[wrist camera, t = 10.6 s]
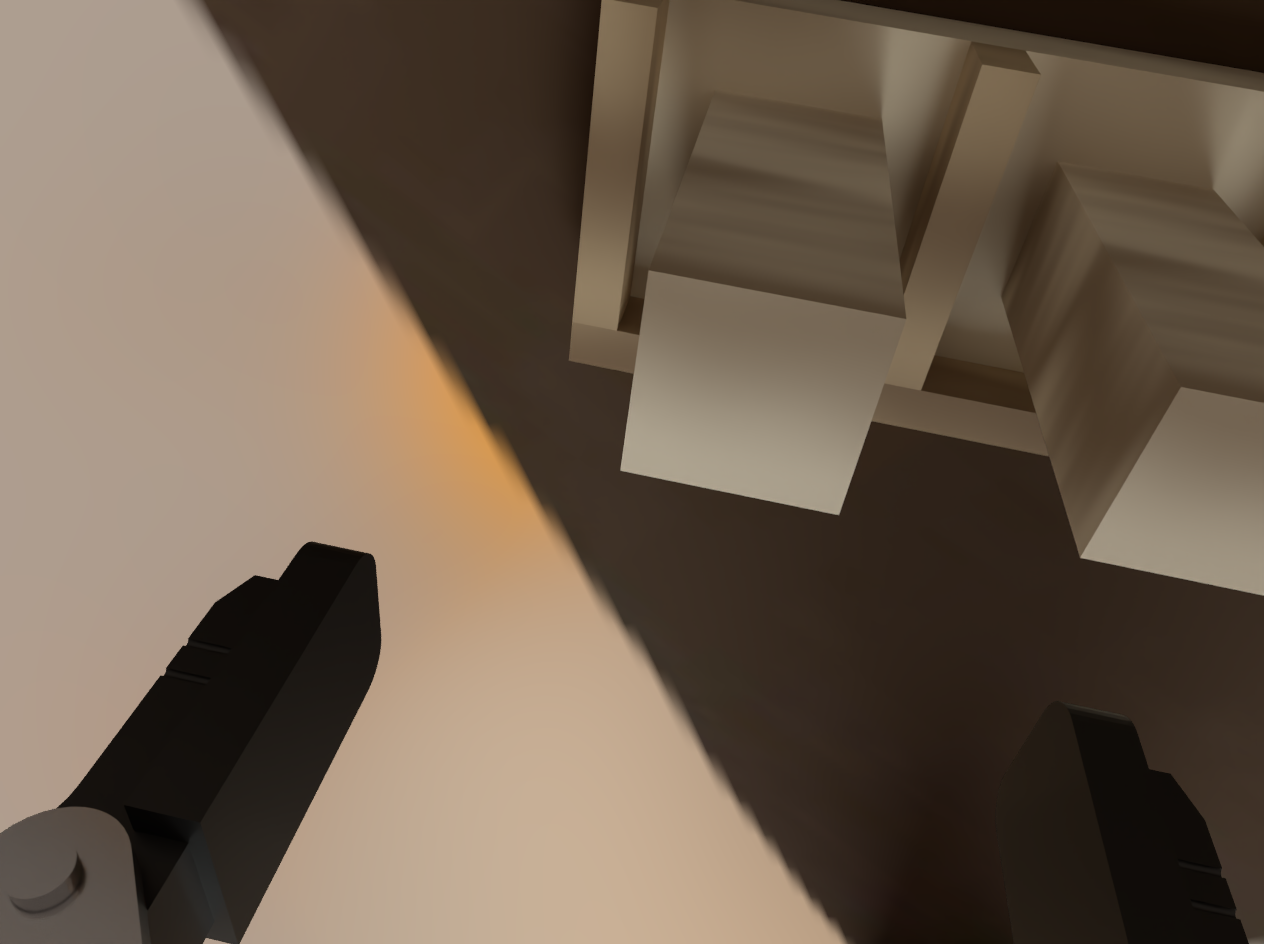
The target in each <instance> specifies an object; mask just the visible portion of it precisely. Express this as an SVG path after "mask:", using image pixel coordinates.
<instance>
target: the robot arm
mask: <svg viewBox="0 0 1264 944" xmlns="http://www.w3.org/2000/svg"><path fill="white" fill-rule="evenodd" d="M380 649H381V628H380V614H379V602H378V588H377V576H376V564H375V560H374V557H373V556H372V555H371V554H369V553H364V552H359V551H354V550H349V549H345V548H340V547H335V546H331V545H326V544H321V543H316V542H308V543H306V544H305V545H304V546H303V547H302V548H301V549H300V550H299V551H298V553H297V554H296V555H295V557H294V558H293V560H292V561H291V563H290V564H289V566H288V567H287V568H286V570H285V571H284V573H283V574H282V576H281V577H280V579H279V580H275V579H270V578H265V577H261V576H256V575H255V576H253V577H252V578H250V579H249V580H247V581H246V582H244V583H243V584H242V585H240V586H239V587H237V588H236V589H234V590H233V591H231V592H230V593H228V594H227V595H226V596H224V597H223V598H221V599H220V600H218V601H217V602H215V603H214V605H213V606H212V607H211V609H210V610H209V612H208V613H207V614H206V615H205V617H204V618H203V619H202V621H201V622H200V623H199V625H198V626H197V628H196V629H195V630H194V631H193V633H192V634H191V636H190V637H189V638H188V643H187V645H186V646H182V648H181V649H180V650H179V652H178V653H177V654H176V656H175V657H174V658H173V660H172V661H171V662H170V664H169V665H168V666H167V668H166V673H165V675H164V676H160V677H159V678H158V680H157V681H156V682H155V684H154V685H153V686H152V688H151V689H150V690H149V692H148V693H147V694H146V696H145V697H144V698H143V700H142V701H141V702H140V704H139V705H138V707H137V708H136V709H135V710H134V712H133V713H132V715H131V716H130V717H129V719H128V720H127V721H126V722H125V724H124V725H123V726H122V728H121V729H120V731H119V732H118V733H117V735H116V736H115V737H114V738H113V740H112V741H111V743H110V744H109V745H108V747H107V748H106V749H105V751H104V752H103V753H102V755H101V756H100V757H99V759H98V760H97V761H96V763H95V764H94V766H93V767H92V768H91V769H90V771H89V772H88V773H87V775H86V776H85V777H84V779H83V780H82V781H81V783H80V784H79V785H78V786H77V788H76V789H75V790H74V791H73V792H72V794H71V795H70V796H69V797H68V798H67V799H66V800H65V801H64V802H63V803H62V804H61V805H59V807H57V808H56V809H52V810H48V811H44V812H41V813H38V814H36V815H33V816H30V817H28V818H26V819H24V820H22V821H20V822H18V823H16V824H14V825H12V826H11V827H9V828H8V829H6V830H4V831H3V832H2V833H0V944H203V942H204V940H205V938H209V939H214V940H218V941H222V942H226V943H230V944H240V942H241V940H242V938H243V936H244V934H245V932H246V930H247V928H248V926H249V924H250V922H251V920H252V918H253V916H254V914H255V912H256V910H257V908H258V906H259V904H260V902H261V900H262V898H263V896H264V894H265V892H266V890H267V888H268V887H269V884H270V883H271V881H272V878H273V877H274V875H275V873H276V871H277V869H278V867H279V865H280V863H281V861H282V859H283V857H284V855H285V853H286V851H287V849H288V847H289V845H290V843H291V841H292V839H293V837H294V835H295V833H296V831H297V829H298V828H299V826H300V823H301V822H302V820H303V818H304V816H305V814H306V812H307V810H308V808H309V806H310V804H311V802H312V800H313V798H314V796H315V794H316V792H317V790H318V788H319V786H320V784H321V782H322V780H323V778H324V776H325V774H326V772H327V770H328V768H329V767H330V765H331V763H332V760H333V758H334V757H335V754H336V753H337V750H338V749H339V747H340V744H341V743H342V741H343V739H344V737H345V735H346V733H347V731H348V729H349V727H350V725H351V723H352V721H353V719H354V717H355V715H356V713H357V711H358V709H359V707H360V706H361V703H362V702H363V700H364V698H365V695H366V694H367V692H368V690H369V687H370V685H371V683H372V680H373V677H374V674H375V672H376V668H377V664H378V660H379V655H380ZM995 819H996V832H997V839H998V845H999V852H1000V858H1001V865H1002V871H1003V877H1004V884H1005V890H1006V897H1007V903H1008V910H1009V916H1010V923H1011V929H1012V936H1013V942H1014V944H1249V943H1248V940H1247V937H1246V934H1245V932H1244V929H1243V926H1242V923H1241V920H1239V919H1236V917H1235V911H1236V906H1235V903H1234V901H1233V898H1232V895H1231V892H1230V889H1229V887H1228V884H1227V881H1226V879H1225V878H1222V877H1221V870H1222V867H1221V864H1220V861H1219V859H1218V856H1217V853H1216V850H1215V847H1214V845H1213V842H1212V839H1211V836H1210V833H1209V830H1208V828H1207V825H1206V822H1205V820H1204V818H1203V817H1202V816H1201V814H1200V813H1199V812H1198V810H1197V809H1196V808H1195V806H1194V805H1193V803H1192V802H1191V801H1190V799H1189V798H1188V797H1187V795H1186V794H1185V793H1184V791H1183V790H1182V789H1181V787H1180V786H1179V785H1178V783H1177V782H1176V781H1175V779H1174V778H1173V776H1172V775H1171V774H1169V773H1164V772H1159V771H1155V770H1150V769H1149V768H1148V765H1147V762H1146V759H1145V756H1144V752H1143V749H1142V746H1141V743H1140V740H1139V737H1138V734H1137V731H1136V728H1135V726H1134V724H1133V723H1132V721H1131V720H1130V719H1129V718H1128V717H1126V716H1125V715H1121V714H1116V713H1112V712H1107V711H1102V710H1097V709H1093V708H1088V707H1083V706H1078V705H1074V704H1069V703H1064V702H1059V701H1056V702H1053V703H1051V704H1050V705H1049V706H1048V707H1047V708H1046V710H1045V711H1044V713H1043V714H1042V716H1041V717H1040V719H1039V721H1038V722H1037V724H1036V725H1035V727H1034V728H1033V730H1032V732H1031V733H1030V735H1029V736H1028V738H1027V740H1026V741H1025V743H1024V744H1023V746H1022V748H1021V749H1020V751H1019V752H1018V754H1017V756H1016V757H1015V759H1014V760H1013V762H1012V764H1011V765H1010V767H1009V768H1008V770H1007V772H1006V773H1005V775H1004V777H1003V779H1002V782H1001V784H1000V788H999V792H998V796H997V803H996V818H995Z"/></svg>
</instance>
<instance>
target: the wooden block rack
mask: <svg viewBox="0 0 1264 944" xmlns="http://www.w3.org/2000/svg"><path fill="white" fill-rule="evenodd" d="M715 90H720V91H726V92H732V93H738V94H743V95H749V96H755V97H760V98H766V99H772V100H777V101H783V102H789V103H794V104H800V105H806V106H811V107H817V108H823V109H828V110H834V111H840V112H845V113H851V114H857V115H862V116H868V117H874V118H880V119H882V123H883V132H884V140H885V148H886V156H887V164H888V172H889V181H890V189H891V197H892V205H893V213H894V221H895V230H896V238H897V246H898V254H899V262H900V270H901V279H902V287H903V295H904V303H905V311H906V322H905V325H904V328H903V331H902V334H901V336H900V339H899V342H898V345H897V348H896V351H895V354H894V357H893V360H892V363H891V365H890V368H889V371H888V374H887V377H886V380H885V383H884V386H883V389H882V392H881V394H880V397H879V400H878V403H877V406H876V409H875V412H874V415H873V418H872V421H874V422H879V423H884V424H889V425H894V426H899V427H904V428H909V429H914V430H919V431H924V432H929V433H934V434H939V435H944V436H949V437H954V438H959V439H964V440H969V441H974V442H979V443H984V444H989V445H994V446H999V447H1004V448H1009V449H1014V450H1019V451H1024V452H1029V453H1034V454H1039V455H1044V456H1049V458H1050V461H1051V464H1052V468H1053V471H1054V474H1055V477H1056V481H1057V484H1058V487H1059V491H1060V494H1061V497H1062V501H1063V504H1064V507H1065V510H1066V514H1067V517H1068V520H1069V524H1070V527H1071V530H1072V534H1073V537H1074V540H1075V544H1076V547H1077V549H1078V552H1079V556H1080V558H1084V559H1089V560H1094V561H1098V562H1103V563H1108V564H1113V565H1118V566H1123V567H1128V568H1132V569H1137V570H1142V571H1147V572H1152V573H1157V574H1162V575H1166V576H1171V577H1176V578H1181V579H1186V580H1191V581H1196V582H1200V583H1205V584H1210V585H1215V586H1220V587H1225V588H1230V589H1234V590H1239V591H1244V592H1249V593H1254V594H1259V595H1264V73H1261V72H1255V71H1249V70H1243V69H1237V68H1232V67H1226V66H1220V65H1214V64H1208V63H1202V62H1196V61H1191V60H1185V59H1179V58H1173V57H1167V56H1161V55H1156V54H1150V53H1144V52H1138V51H1132V50H1126V49H1121V48H1115V47H1109V46H1103V45H1097V44H1091V43H1086V42H1080V41H1074V40H1068V39H1062V38H1056V37H1051V36H1045V35H1039V34H1033V33H1027V32H1021V31H1016V30H1010V29H1004V28H998V27H992V26H986V25H981V24H975V23H969V22H963V21H957V20H951V19H946V18H940V17H934V16H928V15H922V14H916V13H911V12H905V11H899V10H893V9H887V8H881V7H876V6H870V5H864V4H858V3H852V2H846V1H841V0H602V3H601V14H600V25H599V36H598V47H597V58H596V69H595V80H594V91H593V102H592V113H591V124H590V135H589V146H588V157H587V168H586V179H585V190H584V201H583V212H582V223H581V234H580V245H579V256H578V267H577V278H576V289H575V300H574V311H573V322H572V333H571V344H570V354H569V361H573V362H578V363H583V364H588V365H593V366H598V367H603V368H608V369H613V370H618V371H623V372H628V373H633V374H634V370H635V363H636V356H637V349H638V342H639V335H640V328H641V321H642V314H643V307H644V300H645V292H646V285H647V278H648V271H649V268H650V265H651V263H652V260H653V257H654V254H655V252H656V249H657V246H658V244H659V241H660V238H661V235H662V233H663V230H664V227H665V225H666V222H667V219H668V217H669V214H670V211H671V208H672V206H673V203H674V200H675V198H676V195H677V192H678V189H679V187H680V184H681V181H682V179H683V176H684V173H685V171H686V168H687V165H688V162H689V160H690V157H691V154H692V152H693V149H694V146H695V143H696V141H697V138H698V135H699V133H700V130H701V127H702V125H703V122H704V119H705V116H706V114H707V111H708V108H709V106H710V103H711V100H712V97H713V95H714V92H715Z"/></svg>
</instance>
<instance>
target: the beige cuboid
mask: <svg viewBox="0 0 1264 944" xmlns="http://www.w3.org/2000/svg"><path fill="white" fill-rule="evenodd" d="M905 322H906V311H905V303H904V295H903V287H902V279H901V270H900V262H899V254H898V246H897V238H896V230H895V221H894V213H893V205H892V197H891V189H890V181H889V172H888V164H887V156H886V148H885V140H884V132H883V123H882V119H880V118H874V117H868V116H862V115H857V114H851V113H845V112H840V111H834V110H828V109H823V108H817V107H811V106H806V105H800V104H794V103H789V102H783V101H777V100H772V99H766V98H760V97H755V96H749V95H743V94H738V93H732V92H726V91H720V90H715V92H714V95H713V97H712V100H711V103H710V106H709V108H708V111H707V114H706V116H705V119H704V122H703V125H702V127H701V130H700V133H699V135H698V138H697V141H696V143H695V146H694V149H693V152H692V154H691V157H690V160H689V162H688V165H687V168H686V171H685V173H684V176H683V179H682V181H681V184H680V187H679V189H678V192H677V195H676V198H675V200H674V203H673V206H672V208H671V211H670V214H669V217H668V219H667V222H666V225H665V227H664V230H663V233H662V235H661V238H660V241H659V244H658V246H657V249H656V252H655V254H654V257H653V260H652V263H651V265H650V268H649V271H648V278H647V285H646V292H645V300H644V307H643V314H642V321H641V328H640V335H639V342H638V349H637V356H636V363H635V370H634V377H633V384H632V392H631V399H630V406H629V413H628V420H627V427H626V434H625V441H624V448H623V455H622V462H621V469H620V471H625V472H630V473H635V474H640V475H645V476H650V477H655V478H659V479H664V480H669V481H674V482H679V483H684V484H689V485H694V486H699V487H703V488H708V489H713V490H718V491H723V492H728V493H733V494H738V495H743V496H748V497H752V498H757V499H762V500H767V501H772V502H777V503H782V504H787V505H792V506H797V507H801V508H806V509H811V510H816V511H821V512H826V513H831V514H836V515H839V513H840V510H841V507H842V505H843V502H844V499H845V496H846V493H847V490H848V487H849V484H850V481H851V478H852V476H853V473H854V470H855V467H856V464H857V461H858V458H859V455H860V452H861V449H862V447H863V444H864V441H865V438H866V435H867V432H868V429H869V426H870V423H871V421H872V418H873V415H874V412H875V409H876V406H877V403H878V400H879V397H880V394H881V392H882V389H883V386H884V383H885V380H886V377H887V374H888V371H889V368H890V365H891V363H892V360H893V357H894V354H895V351H896V348H897V345H898V342H899V339H900V336H901V334H902V331H903V328H904V325H905Z"/></svg>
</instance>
